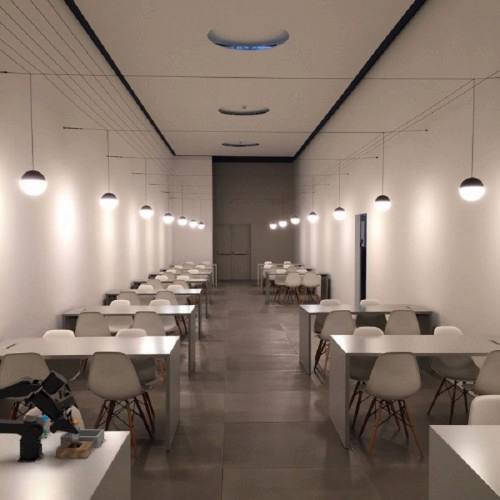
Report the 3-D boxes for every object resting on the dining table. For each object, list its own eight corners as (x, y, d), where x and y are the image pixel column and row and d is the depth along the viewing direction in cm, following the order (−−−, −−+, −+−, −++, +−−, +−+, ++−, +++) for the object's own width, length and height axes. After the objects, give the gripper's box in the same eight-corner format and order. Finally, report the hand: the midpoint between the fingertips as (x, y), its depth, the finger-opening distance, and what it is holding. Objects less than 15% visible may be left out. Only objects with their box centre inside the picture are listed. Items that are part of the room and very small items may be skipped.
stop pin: (68, 452, 186) (68, 421, 186) (72, 448, 190) (71, 418, 189) (77, 452, 186) (77, 421, 186) (80, 448, 189) (80, 418, 189)
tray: (60, 447, 194) (60, 436, 194) (68, 439, 202) (68, 429, 202) (97, 447, 193) (97, 437, 193) (104, 439, 201) (104, 429, 201)
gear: (26, 428, 209) (45, 409, 211) (37, 436, 212) (56, 417, 213) (26, 441, 199) (46, 421, 201) (38, 450, 202) (57, 430, 203)
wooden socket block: (55, 458, 184) (55, 449, 184) (64, 449, 192) (64, 441, 192) (86, 458, 184) (85, 450, 184) (93, 449, 192) (93, 441, 192)
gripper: (59, 394, 178) (93, 423, 180) (65, 380, 196) (96, 407, 198) (34, 419, 176) (69, 448, 179) (43, 402, 194) (75, 429, 197)
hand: (78, 431), depth 188 cm, fingers closed on stop pin, 3 cm apart
